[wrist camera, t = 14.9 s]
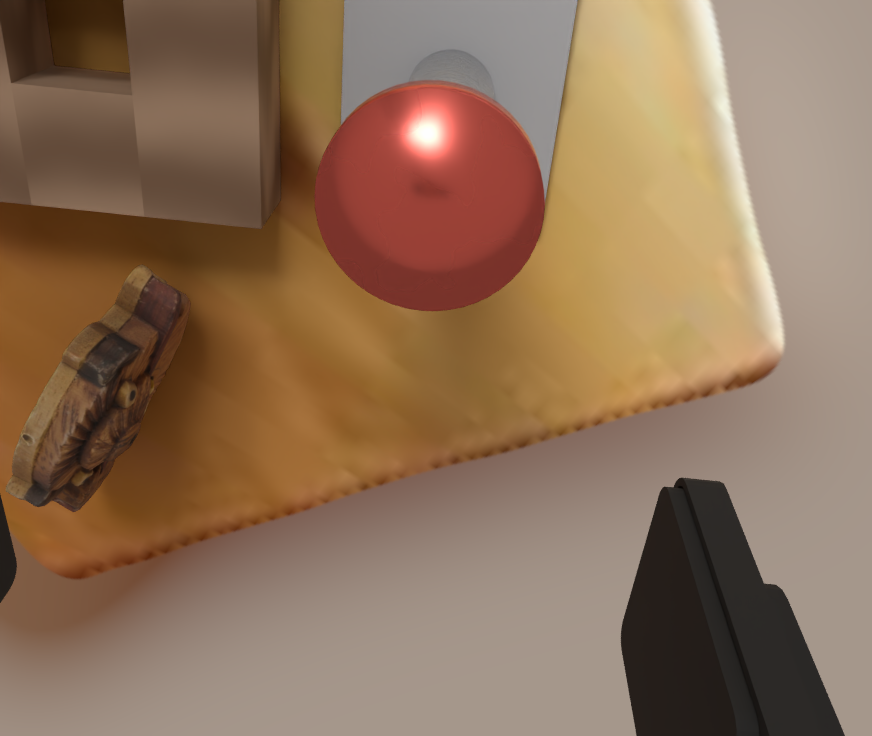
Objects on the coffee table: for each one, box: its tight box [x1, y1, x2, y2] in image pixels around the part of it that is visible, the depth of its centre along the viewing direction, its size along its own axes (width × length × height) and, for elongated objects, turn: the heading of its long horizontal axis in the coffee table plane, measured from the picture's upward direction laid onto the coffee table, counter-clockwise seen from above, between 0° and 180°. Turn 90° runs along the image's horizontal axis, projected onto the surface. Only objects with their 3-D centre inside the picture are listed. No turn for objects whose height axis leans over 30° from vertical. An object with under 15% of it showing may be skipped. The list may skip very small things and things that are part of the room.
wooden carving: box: [6, 265, 191, 512], centre depth 42 cm, size 16×5×10 cm, turn 153°
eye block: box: [0, 0, 281, 229], centre depth 35 cm, size 16×16×4 cm
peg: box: [315, 49, 545, 311], centre depth 31 cm, size 7×7×15 cm
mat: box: [341, 0, 578, 199], centre depth 38 cm, size 12×10×1 cm
